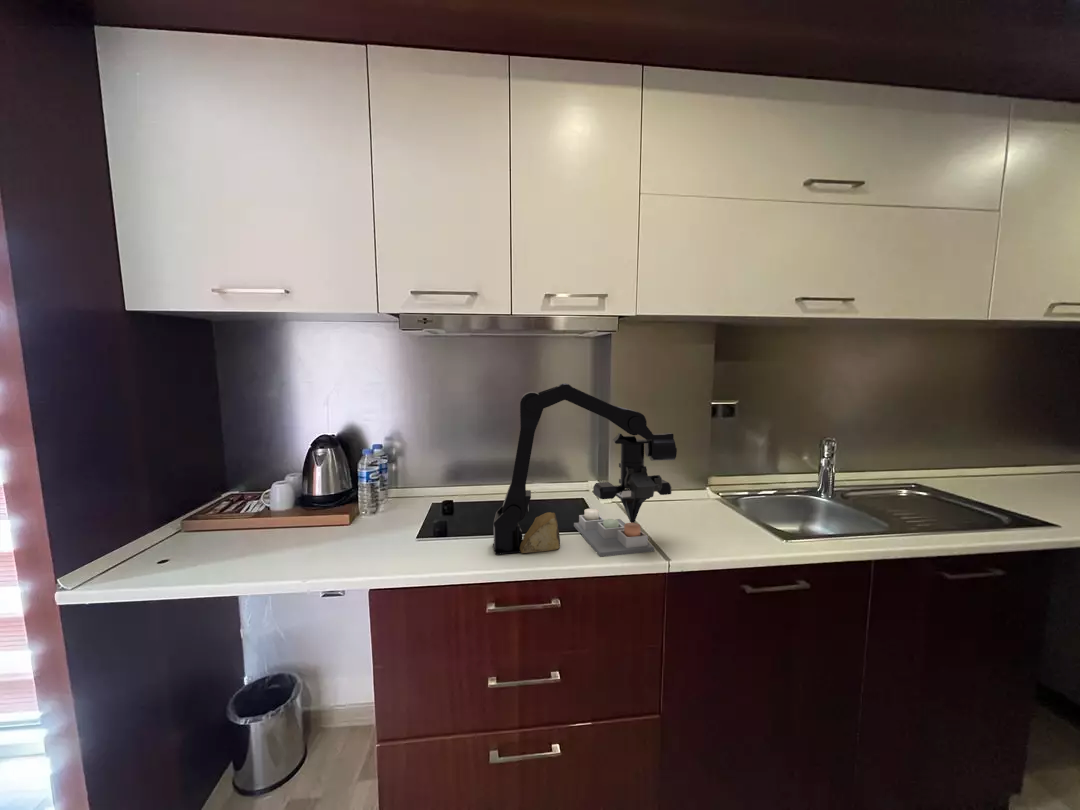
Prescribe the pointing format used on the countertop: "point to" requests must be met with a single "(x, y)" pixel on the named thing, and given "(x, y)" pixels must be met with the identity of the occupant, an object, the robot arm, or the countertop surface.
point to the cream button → (591, 514)
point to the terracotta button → (632, 529)
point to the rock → (541, 534)
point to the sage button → (610, 523)
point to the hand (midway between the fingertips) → (632, 522)
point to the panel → (611, 538)
